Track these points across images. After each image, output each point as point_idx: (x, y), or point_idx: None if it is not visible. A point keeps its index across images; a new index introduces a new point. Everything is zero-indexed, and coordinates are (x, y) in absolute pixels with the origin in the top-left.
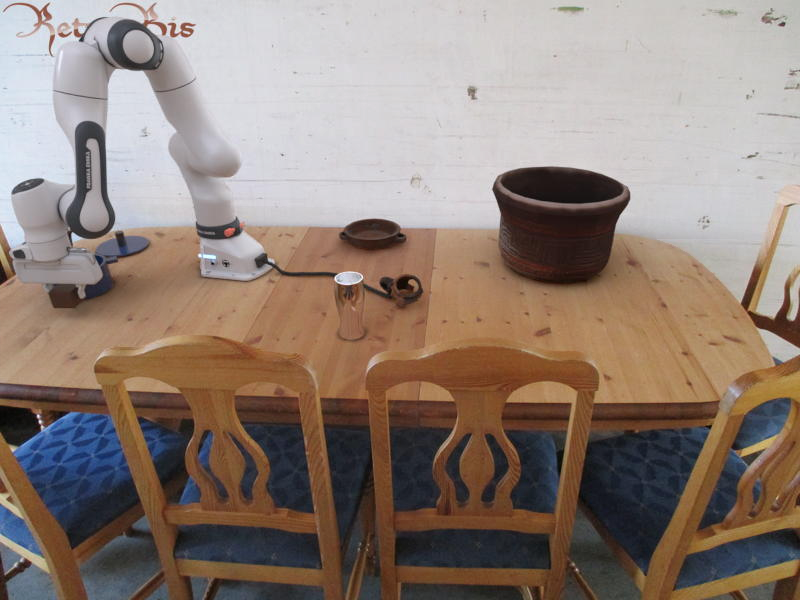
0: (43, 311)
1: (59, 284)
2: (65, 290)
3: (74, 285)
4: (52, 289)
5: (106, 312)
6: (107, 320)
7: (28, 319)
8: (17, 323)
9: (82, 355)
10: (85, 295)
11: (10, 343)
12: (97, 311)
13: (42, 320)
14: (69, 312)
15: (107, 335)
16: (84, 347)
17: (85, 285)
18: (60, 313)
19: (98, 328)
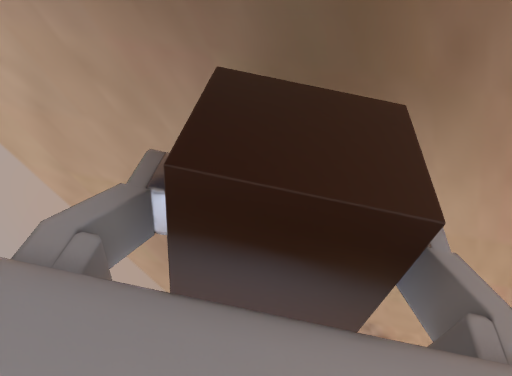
0: (66, 24)
1: (183, 213)
2: (306, 312)
3: (369, 264)
4: (176, 278)
5: (500, 100)
6: (498, 186)
7: (58, 109)
8: (38, 138)
9: (402, 338)
10: (408, 124)
11: (137, 256)
12: (437, 77)
13: (140, 131)
14: (247, 63)
15: (488, 281)
16: (403, 315)
17: (500, 300)
18: (195, 68)
19: (449, 237)
